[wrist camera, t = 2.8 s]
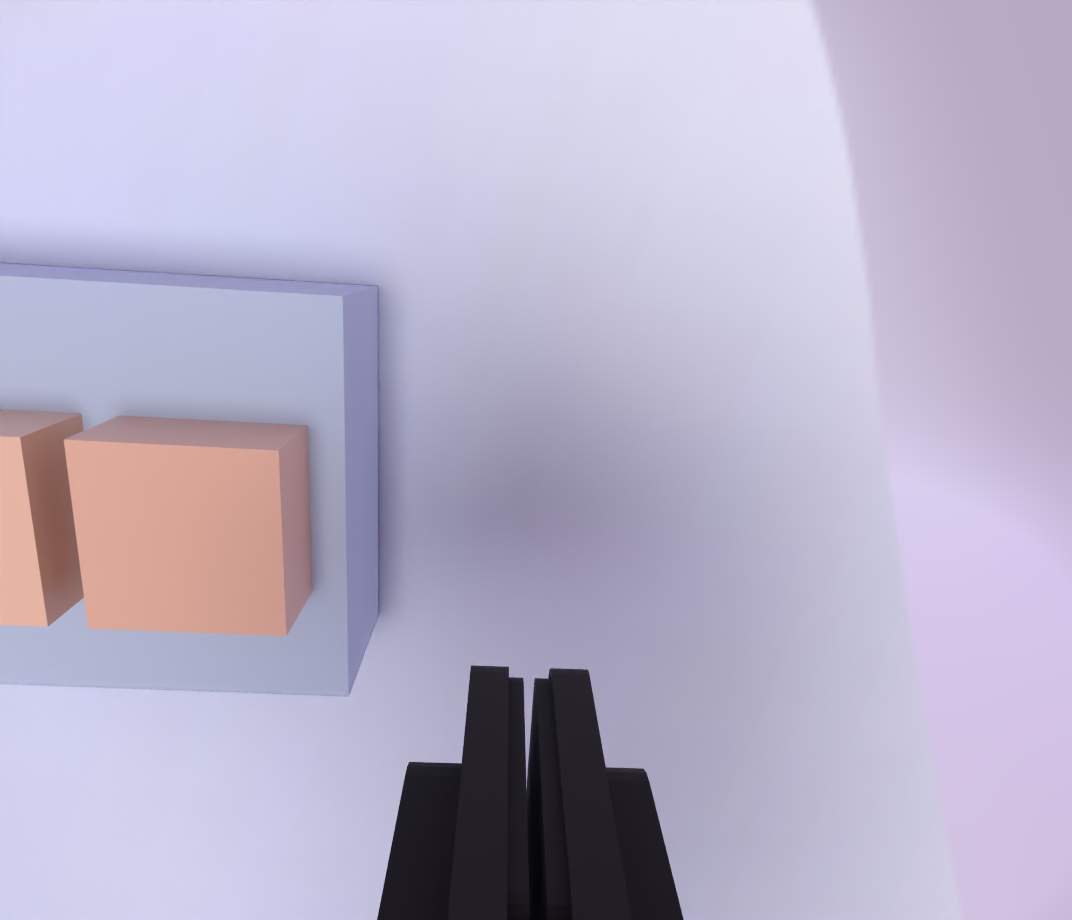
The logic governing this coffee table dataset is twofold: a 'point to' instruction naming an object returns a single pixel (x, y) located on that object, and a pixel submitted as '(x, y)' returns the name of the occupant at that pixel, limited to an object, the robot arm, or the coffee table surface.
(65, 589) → the tile
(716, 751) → the coffee table surface
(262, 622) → the tile
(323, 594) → the board
